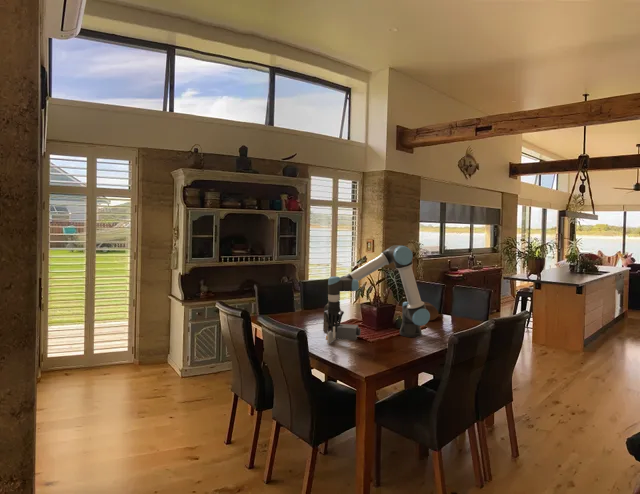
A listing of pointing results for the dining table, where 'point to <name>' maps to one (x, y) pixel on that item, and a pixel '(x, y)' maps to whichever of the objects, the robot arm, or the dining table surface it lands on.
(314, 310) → the dining table surface
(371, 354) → the dining table surface
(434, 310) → the bread
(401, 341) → the dining table surface
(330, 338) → the side door
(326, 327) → the vintage camera
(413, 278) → the robot arm
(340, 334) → the cabinet with round knob
